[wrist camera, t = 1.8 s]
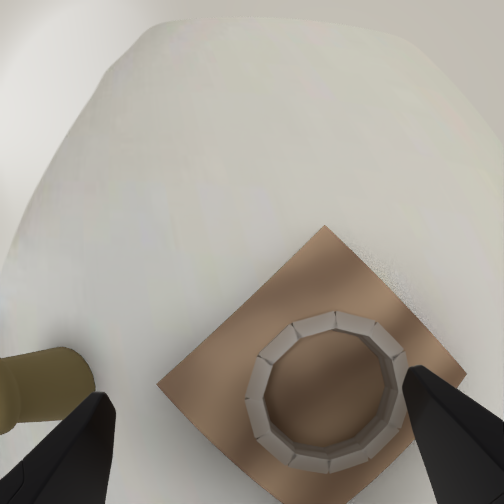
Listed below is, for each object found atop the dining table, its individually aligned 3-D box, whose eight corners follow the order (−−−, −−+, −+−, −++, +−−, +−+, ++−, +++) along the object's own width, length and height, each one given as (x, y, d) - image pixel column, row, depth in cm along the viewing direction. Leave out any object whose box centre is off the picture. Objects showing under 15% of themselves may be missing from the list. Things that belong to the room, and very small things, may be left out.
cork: (45, 335, 22) (-55, 323, 11) (102, 363, 21) (0, 370, 10) (34, 399, 20) (-61, 411, 10) (88, 430, 20) (-5, 468, 9)
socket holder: (460, 373, 20) (485, 375, 16) (313, 520, 17) (319, 543, 14) (322, 229, 23) (331, 211, 20) (160, 382, 21) (142, 389, 17)
